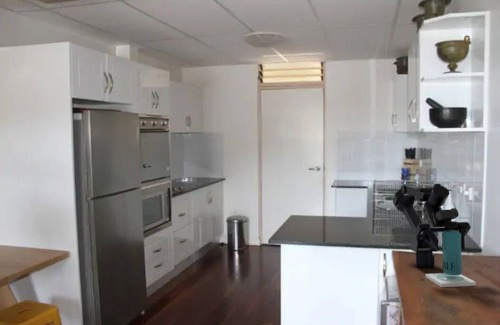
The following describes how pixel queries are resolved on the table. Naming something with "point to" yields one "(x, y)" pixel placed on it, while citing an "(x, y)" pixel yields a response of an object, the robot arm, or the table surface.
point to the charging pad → (450, 280)
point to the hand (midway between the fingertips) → (450, 249)
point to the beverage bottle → (451, 250)
